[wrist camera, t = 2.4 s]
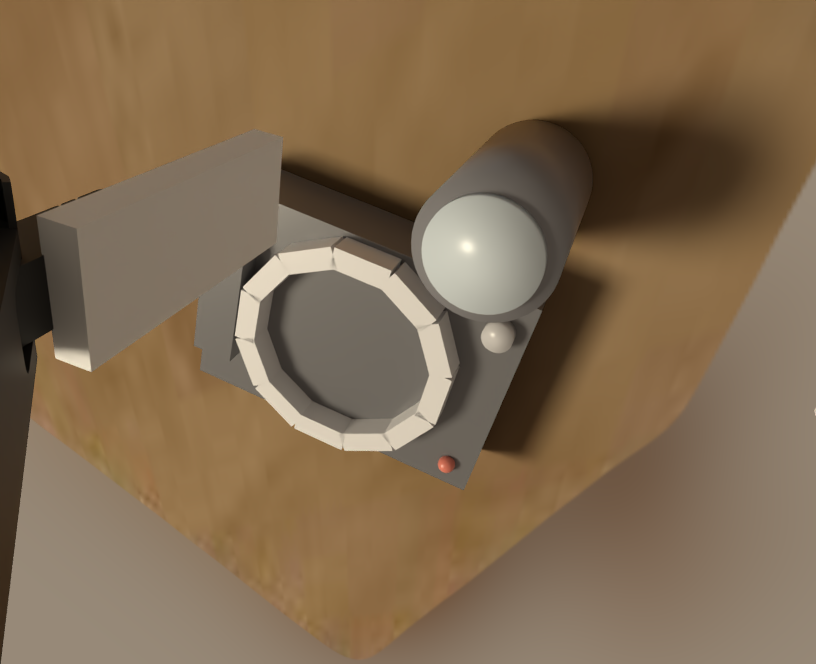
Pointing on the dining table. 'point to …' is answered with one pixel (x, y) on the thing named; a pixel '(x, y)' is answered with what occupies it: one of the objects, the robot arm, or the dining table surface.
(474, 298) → the lens
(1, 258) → the robot arm
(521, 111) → the dining table surface
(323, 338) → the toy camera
